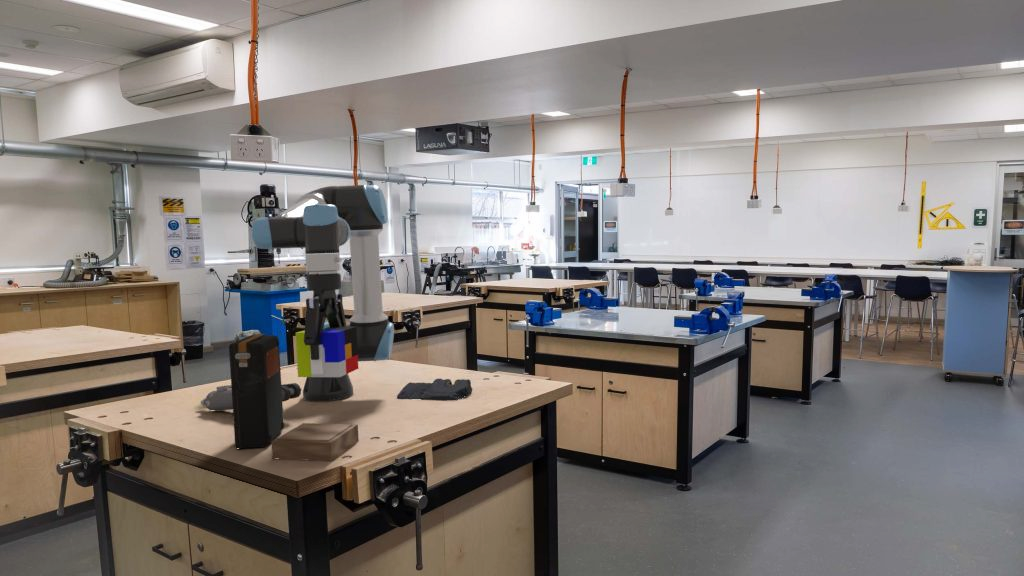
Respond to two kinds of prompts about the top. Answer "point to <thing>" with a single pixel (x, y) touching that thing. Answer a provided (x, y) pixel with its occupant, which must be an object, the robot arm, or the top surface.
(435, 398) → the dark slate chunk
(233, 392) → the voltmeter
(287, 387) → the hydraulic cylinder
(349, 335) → the puzzle toy
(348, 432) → the plinth
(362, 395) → the top surface
